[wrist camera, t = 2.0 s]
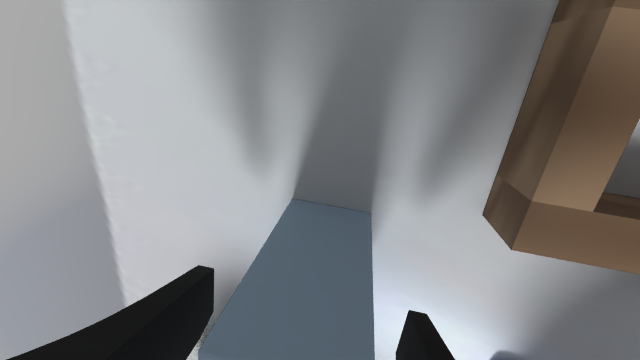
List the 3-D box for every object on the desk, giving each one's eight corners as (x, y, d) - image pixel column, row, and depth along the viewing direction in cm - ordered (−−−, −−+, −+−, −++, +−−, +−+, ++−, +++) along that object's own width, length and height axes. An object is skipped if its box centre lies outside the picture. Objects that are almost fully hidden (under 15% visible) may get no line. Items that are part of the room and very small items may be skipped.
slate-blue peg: (356, 279, 16) (344, 500, 8) (284, 264, 17) (198, 459, 8) (370, 213, 15) (375, 394, 6) (292, 198, 15) (198, 351, 7)
